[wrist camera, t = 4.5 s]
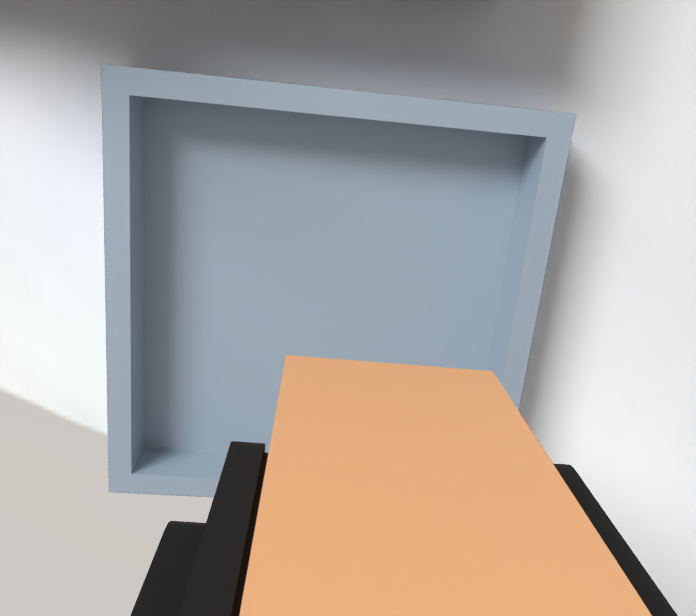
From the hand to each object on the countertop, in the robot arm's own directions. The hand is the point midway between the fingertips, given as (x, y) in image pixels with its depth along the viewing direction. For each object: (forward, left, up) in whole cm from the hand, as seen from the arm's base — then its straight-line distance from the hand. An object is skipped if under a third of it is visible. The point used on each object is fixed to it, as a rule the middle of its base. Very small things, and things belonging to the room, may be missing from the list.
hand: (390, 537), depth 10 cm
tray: (+1, 0, -14) cm, 14 cm away
